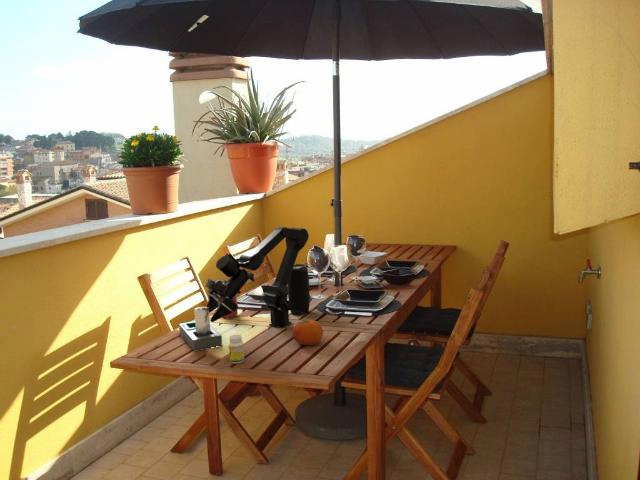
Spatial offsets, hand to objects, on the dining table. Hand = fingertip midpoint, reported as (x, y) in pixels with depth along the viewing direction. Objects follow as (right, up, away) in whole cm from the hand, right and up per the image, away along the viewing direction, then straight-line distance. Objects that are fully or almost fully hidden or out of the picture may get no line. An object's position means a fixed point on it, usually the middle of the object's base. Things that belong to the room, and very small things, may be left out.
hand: (207, 318), depth 223 cm
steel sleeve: (-1, -9, +1) cm, 9 cm away
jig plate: (-4, -9, +6) cm, 11 cm away
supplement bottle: (+13, -12, -17) cm, 25 cm away
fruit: (+36, -9, -3) cm, 37 cm away
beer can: (+3, -4, +34) cm, 34 cm away
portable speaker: (+32, -2, +35) cm, 47 cm away
